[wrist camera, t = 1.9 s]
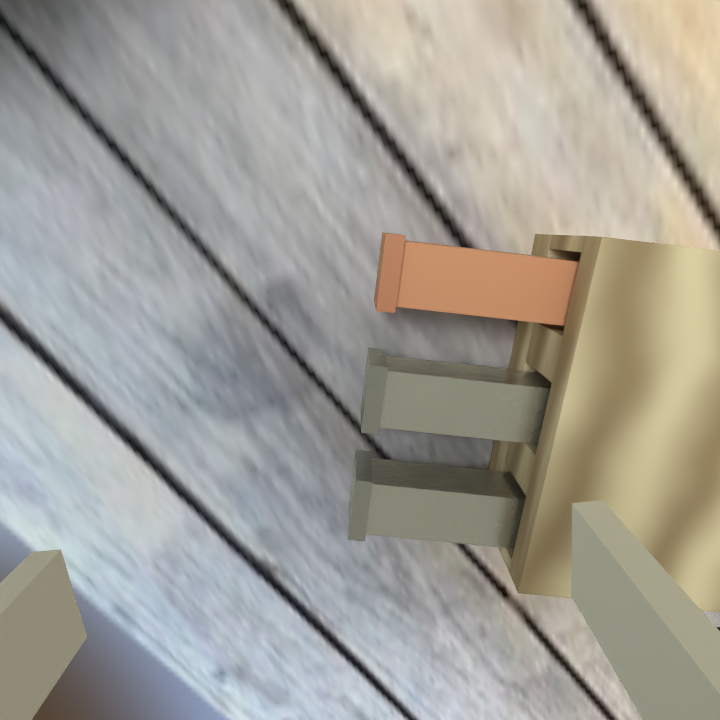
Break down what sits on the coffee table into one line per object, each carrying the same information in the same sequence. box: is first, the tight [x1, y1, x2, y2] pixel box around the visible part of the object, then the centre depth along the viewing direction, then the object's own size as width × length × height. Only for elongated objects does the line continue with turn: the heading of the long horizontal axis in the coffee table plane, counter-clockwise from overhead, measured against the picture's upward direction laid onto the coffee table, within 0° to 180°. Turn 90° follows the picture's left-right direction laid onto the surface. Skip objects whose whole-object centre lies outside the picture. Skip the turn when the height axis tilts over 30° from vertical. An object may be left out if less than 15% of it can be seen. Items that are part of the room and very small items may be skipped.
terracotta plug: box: [374, 233, 579, 326], centre depth 28 cm, size 17×4×4 cm, turn 83°
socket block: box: [488, 234, 720, 612], centre depth 30 cm, size 16×20×9 cm
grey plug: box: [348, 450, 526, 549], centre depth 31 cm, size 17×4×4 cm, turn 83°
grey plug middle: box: [361, 348, 552, 444], centre depth 29 cm, size 17×4×4 cm, turn 83°
